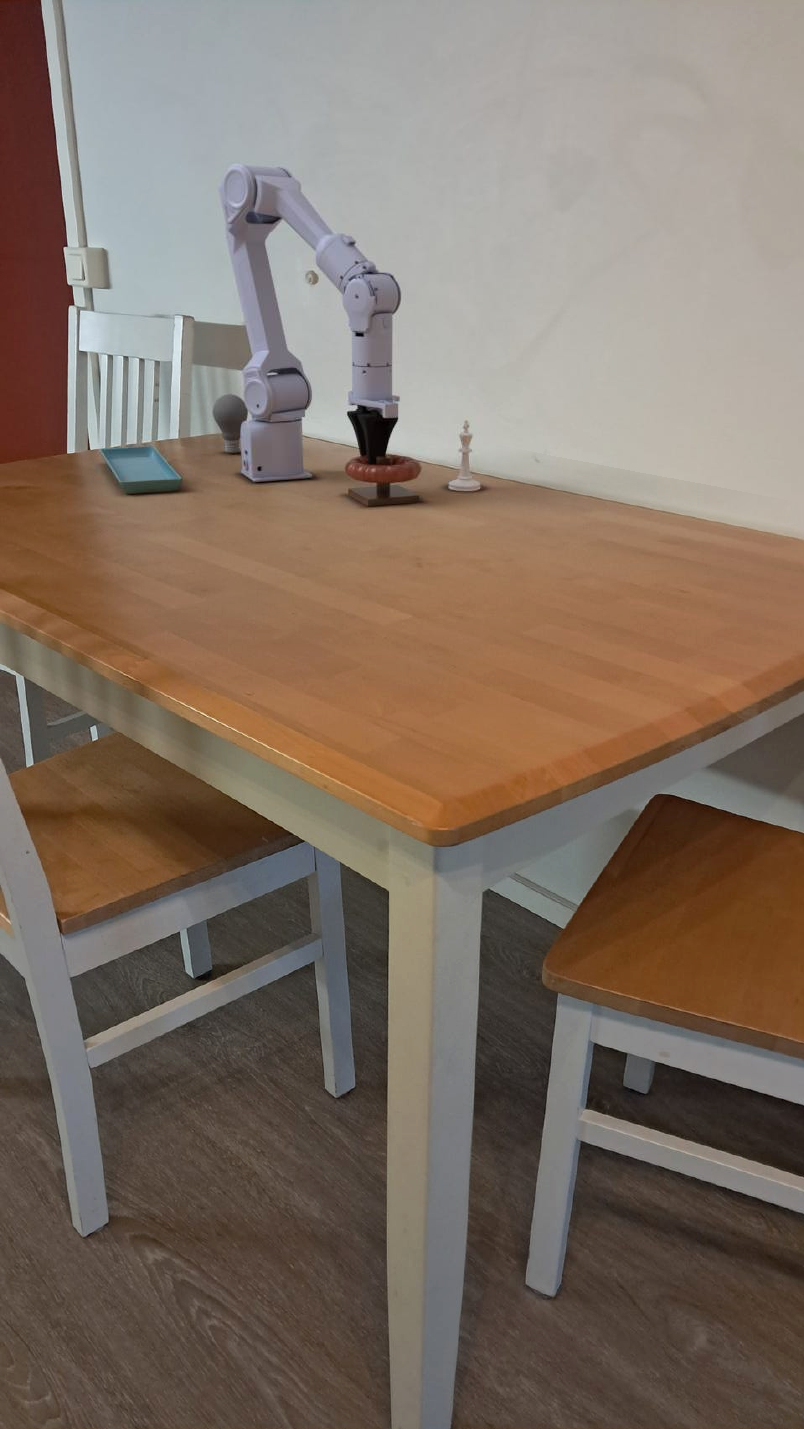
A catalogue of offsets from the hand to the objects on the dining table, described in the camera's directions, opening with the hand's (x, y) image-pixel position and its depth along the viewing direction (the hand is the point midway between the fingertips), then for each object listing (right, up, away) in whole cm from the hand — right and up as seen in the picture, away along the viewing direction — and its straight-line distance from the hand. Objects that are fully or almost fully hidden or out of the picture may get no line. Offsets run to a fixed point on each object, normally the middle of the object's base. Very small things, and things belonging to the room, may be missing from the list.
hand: (372, 461), depth 157 cm
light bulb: (-25, +9, +30) cm, 41 cm away
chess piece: (+14, -3, +6) cm, 15 cm away
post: (+2, -6, -2) cm, 6 cm away
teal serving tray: (-37, 0, +11) cm, 39 cm away
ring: (+2, -2, -3) cm, 4 cm away
